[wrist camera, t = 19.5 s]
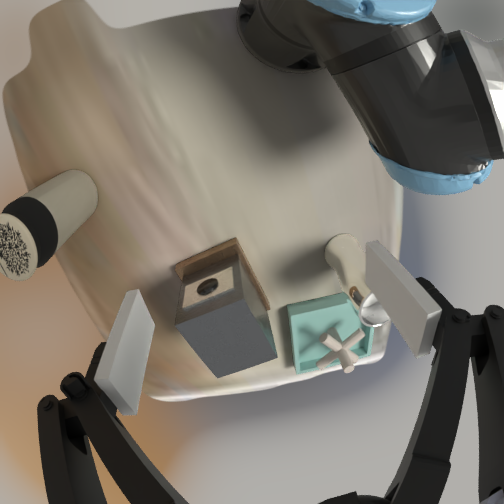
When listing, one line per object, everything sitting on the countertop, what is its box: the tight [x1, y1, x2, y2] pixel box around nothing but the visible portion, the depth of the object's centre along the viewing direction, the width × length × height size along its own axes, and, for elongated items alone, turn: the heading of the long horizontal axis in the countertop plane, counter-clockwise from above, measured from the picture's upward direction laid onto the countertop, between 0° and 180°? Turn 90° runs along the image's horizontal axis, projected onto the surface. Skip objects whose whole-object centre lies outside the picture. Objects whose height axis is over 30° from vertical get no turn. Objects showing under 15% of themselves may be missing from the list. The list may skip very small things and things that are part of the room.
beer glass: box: [324, 234, 391, 327], centre depth 41 cm, size 7×7×15 cm
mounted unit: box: [175, 238, 278, 378], centre depth 42 cm, size 13×10×13 cm
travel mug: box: [0, 170, 98, 281], centre depth 31 cm, size 8×8×18 cm
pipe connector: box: [316, 327, 365, 373], centre depth 49 cm, size 10×10×10 cm
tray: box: [287, 293, 374, 374], centre depth 53 cm, size 16×16×3 cm
